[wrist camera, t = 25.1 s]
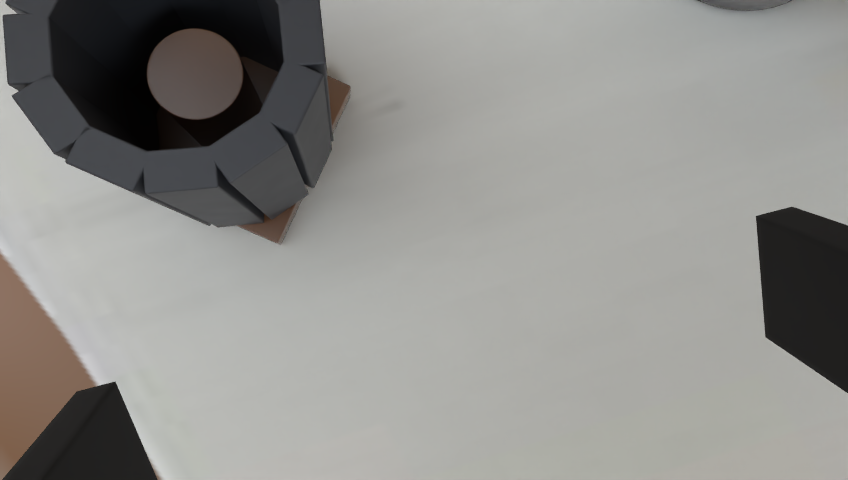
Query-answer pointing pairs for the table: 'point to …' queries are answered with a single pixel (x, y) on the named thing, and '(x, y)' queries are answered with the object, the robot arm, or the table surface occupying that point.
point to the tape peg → (216, 99)
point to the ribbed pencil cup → (136, 107)
